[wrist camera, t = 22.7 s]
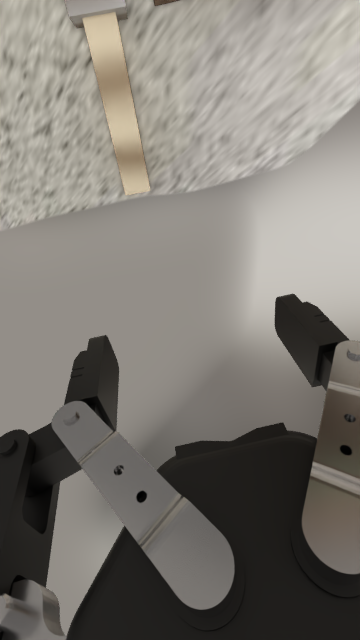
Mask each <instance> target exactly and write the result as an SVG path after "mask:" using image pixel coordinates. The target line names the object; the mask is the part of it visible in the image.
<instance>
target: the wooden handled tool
mask: <svg viewBox="0 0 360 640" xmlns="http://www.w3.org/2000/svg"><path fill="white" fill-rule="evenodd" d="M65 4H66V8H67V12H68V16H69V18H70V19H71V21H72V22H73V23H74V25H75V26H76V28H81V27H85V32H86V36H87V40H88V44H89V48H90V52H91V56H92V60H93V64H94V68H95V72H96V76H97V81H98V85H99V89H100V93H101V97H102V101H103V105H104V109H105V113H106V117H107V121H108V125H109V130H110V134H111V138H112V142H113V146H114V150H115V154H116V158H117V162H118V166H119V170H120V174H121V179H122V183H123V187H124V191H125V195H131V194H136V193H141V192H147V191H150V185H149V180H148V174H147V169H146V164H145V159H144V154H143V149H142V144H141V139H140V133H139V128H138V123H137V118H136V113H135V108H134V103H133V98H132V92H131V87H130V82H129V77H128V72H127V67H126V62H125V57H124V51H123V46H122V41H121V36H120V31H119V26H118V21H119V20H124V19H128V18H127V10H126V3H125V0H65Z"/></svg>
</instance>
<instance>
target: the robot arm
mask: <svg viewBox="0 0 360 640" xmlns="http://www.w3.org/2000/svg"><path fill="white" fill-rule="evenodd" d="M275 329H276V332H277V335H278V337H279V338H280V340H281V341H282V343H283V344H284V346H285V347H286V349H287V350H288V352H289V353H290V354H291V356H292V358H293V359H294V361H295V362H296V363H297V365H298V367H299V368H300V369H301V371H302V373H303V374H304V375H305V377H306V378H307V380H308V382H309V383H310V385H311V386H312V387H316V386H320V385H322V386H323V387H324V389H325V390H326V396H325V401H324V406H323V411H322V416H321V421H320V426H319V431H318V436H317V438H315V437H313V436H310V435H308V434H305V433H301V432H296V431H287V430H286V428H285V425H284V423H279V424H274V425H269V426H265V427H261V428H256V429H255V430H252V431H251V432H249V433H247V434H245V435H243V436H241V437H239V438H237V439H235V440H233V441H199V442H194V443H190V444H185V445H181V446H176V447H175V451H176V456H174V457H172V458H170V459H169V460H168V461H166V462H165V463H164V464H163V465H161V466H160V467H159V468H158V469H157V471H156V470H155V469H154V468H153V467H152V466H151V465H150V464H149V463H148V462H147V461H146V460H145V459H144V458H143V457H142V456H141V455H140V454H139V453H138V452H137V451H136V450H135V449H134V448H133V447H132V446H131V445H130V444H129V443H128V442H127V440H126V439H124V437H123V436H122V435H121V434H120V433H118V432H117V431H116V425H117V404H118V382H119V366H118V362H117V359H116V356H115V354H114V351H113V349H112V346H111V344H110V342H109V339H108V337H107V336H106V335H105V336H100V337H95V338H91V339H89V343H88V348H87V351H82V352H80V353H79V355H78V356H77V357H76V359H75V360H74V364H73V368H72V372H71V379H70V381H69V385H68V390H67V394H66V399H65V403H64V406H62V407H61V408H60V409H59V410H58V411H57V412H56V413H55V415H54V416H53V419H52V422H51V423H50V424H48V425H47V426H45V427H43V428H41V429H39V430H37V431H35V432H33V433H31V434H29V435H28V433H27V432H26V431H24V430H13V431H10V432H8V433H6V434H4V435H3V436H2V437H0V640H360V342H359V341H350V340H349V339H348V338H347V337H346V336H345V335H344V334H343V333H342V332H341V331H340V330H339V329H338V328H337V327H336V326H335V325H334V324H333V323H332V321H330V320H329V318H328V317H326V315H324V314H323V312H322V311H321V310H320V309H319V308H318V307H317V306H315V305H313V304H310V303H308V302H304V303H302V302H301V301H300V300H299V299H298V297H296V295H295V294H290V295H285V296H281V297H277V298H276V302H275ZM81 469H83V470H84V472H85V473H86V474H87V476H88V477H89V478H90V480H91V481H92V482H93V484H94V485H95V486H96V488H97V489H98V490H99V492H100V493H101V494H102V496H103V497H104V498H105V500H106V501H107V503H109V505H110V506H111V508H112V509H113V511H114V512H115V513H116V515H117V516H118V517H119V519H120V520H121V521H122V523H123V524H124V527H123V529H122V531H121V532H120V534H119V536H118V538H117V540H116V542H115V543H114V545H113V547H112V549H111V550H110V552H109V554H108V556H107V558H106V559H105V561H104V563H103V565H102V567H101V569H100V570H99V572H98V574H97V576H96V577H95V579H94V581H93V583H92V585H91V587H90V588H89V590H88V592H87V594H86V595H85V597H84V599H83V601H82V603H81V604H80V606H79V608H78V610H77V612H76V614H75V616H74V618H73V620H72V623H71V625H70V628H69V631H68V634H67V636H65V634H64V632H63V631H62V628H61V624H60V607H59V601H58V598H57V597H56V595H55V594H54V593H53V592H52V591H50V590H49V589H47V588H46V582H47V575H48V567H49V560H50V552H51V545H52V537H53V530H54V523H55V515H56V509H57V501H58V494H59V486H60V481H62V480H63V479H65V478H67V477H69V476H70V475H72V474H74V473H76V472H78V471H79V470H81Z"/></svg>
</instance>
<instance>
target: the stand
mask: <svg viewBox="0 0 360 640" xmlns="http://www.w3.org/2000/svg"><path fill="white" fill-rule="evenodd" d="M174 1H178V0H154V5H155V6H157V5H162V4H166V3H170V2H174Z"/></svg>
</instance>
